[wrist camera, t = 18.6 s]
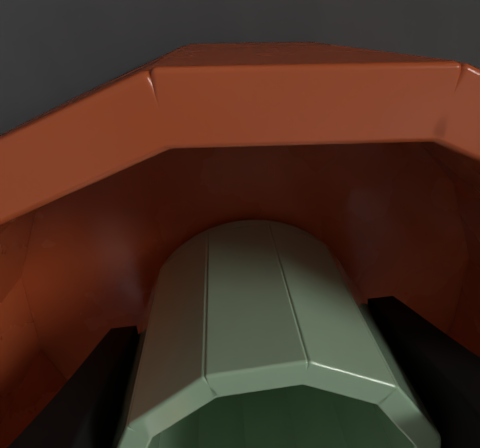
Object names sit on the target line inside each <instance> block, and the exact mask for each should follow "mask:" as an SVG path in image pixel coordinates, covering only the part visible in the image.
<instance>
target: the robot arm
mask: <svg viewBox="0 0 480 448" xmlns="http://www.w3.org/2000/svg"><path fill="white" fill-rule="evenodd" d="M367 305H368V307H369V309H370V310H371V312H372V314H373V316H374V318H375V319H376V321H377V323H378V325H379V326H380V328H381V330H382V332H383V334H384V335H385V337H386V339H387V341H388V343H389V344H390V346H391V348H392V350H393V351H394V353H395V355H396V357H397V359H398V360H399V362H400V364H401V366H402V367H403V369H404V371H405V373H406V375H407V376H408V378H409V380H410V382H411V384H412V385H413V387H414V389H415V391H416V392H417V394H418V396H419V398H420V400H421V401H422V403H423V405H424V407H425V408H426V410H427V412H428V414H429V416H430V417H431V419H432V421H433V423H434V425H435V426H436V428H437V430H438V432H439V433H440V437H441V448H480V357H479V356H477V355H476V354H474V353H473V352H471V351H470V350H468V349H467V348H465V347H464V346H462V345H461V344H459V343H458V342H457V341H455V340H454V339H452V338H451V337H449V336H448V335H447V334H445V333H444V332H442V331H441V330H439V329H438V328H437V327H435V326H434V325H433V324H431V323H430V322H428V321H427V320H426V319H424V318H423V317H422V316H420V315H419V314H417V313H416V312H415V311H413V310H412V309H411V308H409V307H408V306H407V305H405V304H404V303H402V302H401V301H400V300H398V299H397V298H395V297H394V296H387V297H379V298H370V299H368V304H367ZM138 335H139V334H138V330H137V326H127V327H119V328H111V329H110V330H109V331H108V333H107V334H106V335H105V336H104V337H103V338H102V340H101V341H100V342H99V343H98V345H97V346H96V347H95V348H94V349H93V351H92V352H91V353H90V354H89V356H88V357H87V358H86V359H85V361H84V362H83V363H82V364H81V365H80V367H79V368H78V369H77V370H76V372H75V373H74V374H73V375H72V376H71V378H70V379H69V380H68V381H67V382H66V383H65V385H64V386H63V387H62V388H61V389H60V391H59V392H58V393H57V394H56V395H55V396H54V398H53V399H52V400H51V401H50V402H49V403H48V404H47V405H46V407H45V408H44V409H43V410H42V411H41V412H40V413H39V414H38V415H37V416H36V417H35V418H34V420H33V421H32V422H31V423H30V424H29V425H28V426H27V427H26V428H25V429H24V430H23V432H22V433H21V434H20V435H19V436H18V437H17V438H16V439H15V440H14V441H13V442H12V443H11V444H10V445H9V446H8V447H7V448H111V444H112V440H113V436H114V432H115V427H116V423H117V419H118V415H119V411H120V407H121V403H122V399H123V395H124V391H125V387H126V382H127V379H128V375H129V371H130V367H131V364H132V359H133V355H134V351H135V347H136V343H137V339H138Z"/></svg>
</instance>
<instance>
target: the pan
mask: <svg viewBox="0 0 480 448" xmlns="http://www.w3.org/2000/svg"><path fill="white" fill-rule="evenodd" d="M242 220H269V221H275V222H281V223H285V224H288V225H292V226H295V227H297V228H299V229H302V230H304V231H306V232H308V233H310V234H311V235H313V236H315V237H316V238H318V239H319V240H320V241H322V242H323V243H324V244H325V245H327V246H328V247H329V248H330V250H331V251H332V252H333V253H334V254H335V255H336V256H337V258H338V259H339V261H340V262H341V264H342V266H343V267H344V269H345V270H346V271H347V273H348V274H349V275H350V276H351V278H352V279H353V280H354V282H355V284H356V285H357V287H358V289H359V291H360V293H361V294H362V296H363V298H364V300H365V301H366V303H367V304H368V299H370V298H379V297H387V296H394V297H395V298H397V299H398V300H400V301H401V302H402V303H404V304H405V305H407V306H408V307H409V308H411V309H412V310H413V311H415V312H416V313H417V314H419V315H420V316H422V317H423V318H424V319H426V320H427V321H428V322H430V323H431V324H433V325H434V326H435V327H437V328H438V329H439V330H441V331H442V332H444V333H445V334H447V335H448V336H449V337H451V338H452V339H454V340H455V341H457V342H458V343H459V344H461V345H462V346H464V347H465V348H467V349H468V350H470V351H471V352H473V353H474V354H476V355H477V356H479V357H480V69H478V68H476V67H474V66H472V65H470V64H468V63H460V62H457V61H452V60H445V59H437V58H429V57H422V56H414V55H406V54H399V53H391V52H384V51H376V50H368V49H361V48H353V47H345V46H338V45H330V44H322V43H315V42H276V43H252V42H248V43H213V44H189V45H187V46H182V47H180V48H178V49H176V50H174V51H172V52H170V53H167V54H165V55H163V56H161V57H159V58H157V59H155V60H153V61H151V62H149V63H146V64H144V65H142V66H140V67H138V68H136V69H134V70H132V71H130V72H128V73H126V74H123V75H121V76H119V77H117V78H115V79H113V80H111V81H109V82H107V83H105V84H102V85H100V86H98V87H96V88H94V89H92V90H90V91H88V92H86V93H84V94H82V95H79V96H77V97H75V98H73V99H71V100H69V101H67V102H65V103H63V104H61V105H59V106H57V107H55V108H53V109H51V110H49V111H47V112H45V113H43V114H41V115H39V116H37V117H35V118H33V119H31V120H29V121H27V122H25V123H23V124H21V125H19V126H17V127H15V128H13V129H11V130H9V131H7V132H5V133H3V134H1V135H0V448H7V447H8V446H9V445H10V444H11V443H12V442H13V441H14V440H15V439H16V438H17V437H18V436H19V435H20V434H21V433H22V432H23V430H24V429H25V428H26V427H27V426H28V425H29V424H30V423H31V422H32V421H33V420H34V418H35V417H36V416H37V415H38V414H39V413H40V412H41V411H42V410H43V409H44V408H45V407H46V405H47V404H48V403H49V402H50V401H51V400H52V399H53V398H54V396H55V395H56V394H57V393H58V392H59V391H60V389H61V388H62V387H63V386H64V385H65V383H66V382H67V381H68V380H69V379H70V378H71V376H72V375H73V374H74V373H75V372H76V370H77V369H78V368H79V367H80V365H81V364H82V363H83V362H84V361H85V359H86V358H87V357H88V356H89V354H90V353H91V352H92V351H93V349H94V348H95V347H96V346H97V345H98V343H99V342H100V341H101V340H102V338H103V337H104V336H105V335H106V334H107V333H108V331H109V330H110V329H111V328H119V327H127V326H137V330H138V333H139V329H140V325H141V321H142V317H143V313H144V310H145V307H146V305H147V302H148V299H149V297H150V293H151V290H152V287H153V283H154V281H155V278H156V276H157V274H158V272H159V270H160V269H161V267H162V266H163V264H164V263H165V261H166V260H167V259H168V258H169V257H170V256H171V254H172V253H173V252H174V251H175V250H176V249H178V248H179V247H180V246H181V245H182V244H183V243H185V242H186V241H188V240H189V239H191V238H192V237H194V236H195V235H197V234H199V233H201V232H203V231H205V230H208V229H210V228H213V227H216V226H218V225H221V224H225V223H230V222H235V221H242Z"/></svg>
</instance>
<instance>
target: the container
mask: <svg viewBox="0 0 480 448" xmlns="http://www.w3.org/2000/svg"><path fill="white" fill-rule="evenodd" d="M138 334H139V335H138V339H137V343H136V347H135V351H134V355H133V359H132V364H131V367H130V371H129V375H128V379H127V382H126V387H125V391H124V395H123V399H122V403H121V407H120V411H119V415H118V419H117V423H116V427H115V432H114V436H113V440H112V444H111V448H441V437H440V433H439V432H438V430H437V428H436V426H435V425H434V423H433V421H432V419H431V417H430V416H429V414H428V412H427V410H426V408H425V407H424V405H423V403H422V401H421V400H420V398H419V396H418V394H417V392H416V391H415V389H414V387H413V385H412V384H411V382H410V380H409V378H408V376H407V375H406V373H405V371H404V369H403V367H402V366H401V364H400V362H399V360H398V359H397V357H396V355H395V353H394V351H393V350H392V348H391V346H390V344H389V343H388V341H387V339H386V337H385V335H384V334H383V332H382V330H381V328H380V326H379V325H378V323H377V321H376V319H375V318H374V316H373V314H372V312H371V310H370V309H369V307H368V305H367V303H366V301H365V300H364V298H363V296H362V294H361V293H360V291H359V289H358V287H357V285H356V284H355V282H354V280H353V279H352V278H351V276H350V275H349V274H348V273H347V271H346V270H345V269H344V267H343V266H342V264H341V262H340V261H339V259H338V258H337V256H336V255H335V254H334V253H333V252H332V251H331V250H330V248H329V247H328V246H327V245H325V244H324V243H323V242H322V241H320V240H319V239H318V238H316V237H315V236H313V235H311V234H310V233H308V232H306V231H304V230H302V229H299V228H297V227H295V226H292V225H288V224H285V223H281V222H275V221H269V220H242V221H235V222H230V223H225V224H221V225H218V226H216V227H213V228H210V229H208V230H205V231H203V232H201V233H199V234H197V235H195V236H194V237H192V238H191V239H189V240H188V241H186V242H185V243H183V244H182V245H181V246H180V247H179V248H178V249H176V250H175V251H174V252H173V253H172V254H171V256H170V257H169V258H168V259H167V260H166V261H165V263H164V264H163V266H162V267H161V269H160V270H159V272H158V274H157V276H156V278H155V281H154V283H153V287H152V290H151V293H150V297H149V299H148V302H147V305H146V307H145V310H144V313H143V317H142V321H141V325H140V329H139V333H138Z"/></svg>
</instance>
